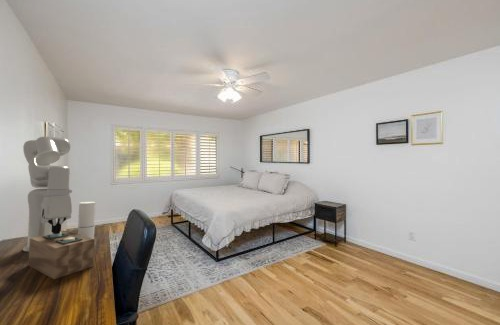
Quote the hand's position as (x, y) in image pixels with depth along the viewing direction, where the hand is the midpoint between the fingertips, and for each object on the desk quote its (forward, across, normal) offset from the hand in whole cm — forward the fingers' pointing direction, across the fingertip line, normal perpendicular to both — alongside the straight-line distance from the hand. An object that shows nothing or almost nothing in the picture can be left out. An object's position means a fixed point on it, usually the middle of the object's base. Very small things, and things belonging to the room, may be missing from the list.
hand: (56, 233), depth 103 cm
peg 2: (+13, 0, +12) cm, 17 cm away
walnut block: (+13, 0, +6) cm, 15 cm away
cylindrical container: (+14, -16, -7) cm, 22 cm away
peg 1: (+12, 0, 0) cm, 12 cm away
